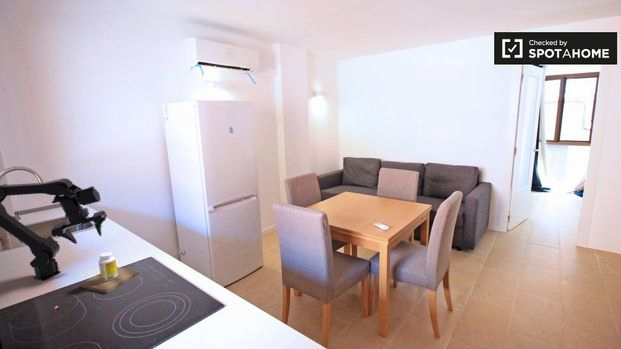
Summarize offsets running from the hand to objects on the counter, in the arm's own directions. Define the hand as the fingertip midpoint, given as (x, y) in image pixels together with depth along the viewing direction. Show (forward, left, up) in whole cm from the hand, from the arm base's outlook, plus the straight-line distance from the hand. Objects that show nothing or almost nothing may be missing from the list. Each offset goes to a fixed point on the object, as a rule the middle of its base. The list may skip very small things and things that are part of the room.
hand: (88, 239), depth 130 cm
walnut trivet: (-7, -18, -12) cm, 23 cm away
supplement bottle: (-7, -18, -11) cm, 22 cm away
